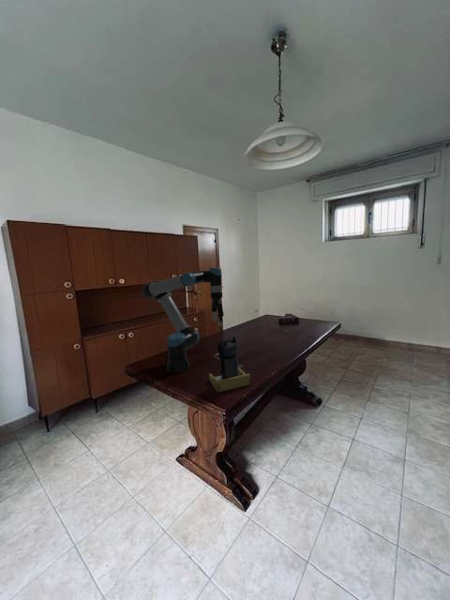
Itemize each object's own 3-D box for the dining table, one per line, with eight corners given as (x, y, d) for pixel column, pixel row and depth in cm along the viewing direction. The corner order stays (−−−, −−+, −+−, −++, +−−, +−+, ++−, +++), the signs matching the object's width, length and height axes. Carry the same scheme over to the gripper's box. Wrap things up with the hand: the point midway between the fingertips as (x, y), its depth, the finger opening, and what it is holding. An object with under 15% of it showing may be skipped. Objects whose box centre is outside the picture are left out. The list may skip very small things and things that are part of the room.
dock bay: (217, 392, 135) (217, 382, 134) (209, 380, 150) (208, 370, 149) (250, 384, 142) (250, 374, 141) (239, 373, 157) (239, 364, 156)
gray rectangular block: (235, 373, 158) (235, 368, 157) (232, 370, 161) (232, 366, 161) (243, 371, 160) (243, 366, 160) (240, 368, 164) (240, 364, 163)
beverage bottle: (214, 381, 146) (212, 340, 142) (231, 373, 154) (229, 334, 150) (226, 387, 138) (224, 344, 134) (243, 378, 147) (241, 338, 143)
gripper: (228, 293, 149) (229, 327, 153) (216, 289, 173) (217, 318, 176) (216, 294, 147) (217, 329, 151) (206, 290, 170) (207, 319, 174)
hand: (217, 323), depth 163 cm, fingers open, 13 cm apart
